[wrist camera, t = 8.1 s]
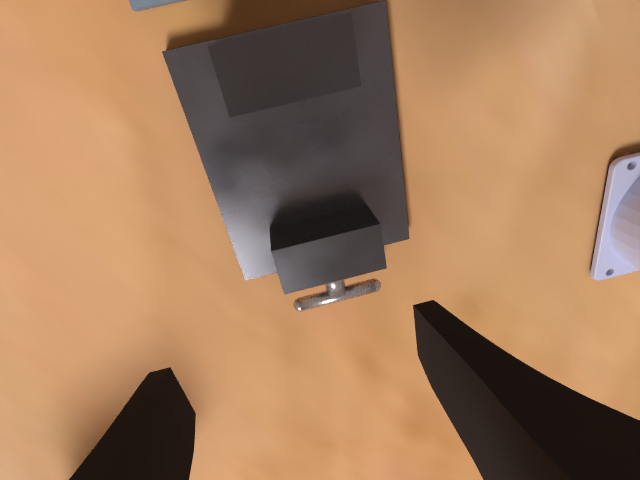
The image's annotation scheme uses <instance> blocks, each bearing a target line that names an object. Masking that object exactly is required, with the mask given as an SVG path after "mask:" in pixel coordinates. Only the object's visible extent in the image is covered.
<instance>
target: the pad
mask: <svg viewBox="0 0 640 480" xmlns="http://www.w3.org/2000/svg"><path fill="white" fill-rule="evenodd" d="M181 1H185V0H129V2H130V5H131V7H132V10H134V11H141V10H145V9H150V8H154V7H158V6H163V5H167V4H172V3H176V2H181Z"/></svg>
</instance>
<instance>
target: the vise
mask: <svg viewBox="0 0 640 480" xmlns="http://www.w3.org/2000/svg"><path fill="white" fill-rule="evenodd" d="M162 53H163V55H164V58H165V61H166V64H167V66H168V69H169V72H170V75H171V77H172V80H173V83H174V86H175V88H176V91H177V94H178V97H179V99H180V102H181V105H182V108H183V110H184V113H185V116H186V119H187V121H188V124H189V127H190V130H191V132H192V135H193V138H194V141H195V143H196V146H197V149H198V152H199V154H200V157H201V160H202V163H203V165H204V168H205V171H206V174H207V176H208V179H209V182H210V184H211V187H212V190H213V193H214V195H215V198H216V201H217V204H218V206H219V209H220V212H221V215H222V217H223V220H224V223H225V226H226V228H227V231H228V234H229V237H230V239H231V242H232V245H233V248H234V250H235V253H236V256H237V259H238V261H239V264H240V267H241V270H242V272H243V275H244V278H245V281H246V280H250V279H254V278H257V277H261V276H265V275H269V274H273V273H278V276H279V279H280V282H281V285H282V289H283V292H284V294H288V293H292V292H296V291H300V290H304V289H308V288H312V287H316V286H319V285H323V284H325V286H326V291H323V292H319V293H316V294H312V295H308V296H304V297H300V298H297V299H296V300H295V301H294V304H293V305H294V308H295V309H296V310H297V311H304V310H308V309H312V308H316V307H320V306H323V305H327V304H331V303H335V302H339V301H343V300H347V299H350V298H354V297H358V296H362V295H366V294H370V293H374V292H377V291H379V290H380V288H381V283H380V281H379V280H377V279H370V280H366V281H362V282H358V283H354V284H351V285H347V286H345V282H344V279H347V278H351V277H354V276H358V275H362V274H366V273H370V272H374V271H378V270H382V269H386V268H387V267H386V259H385V252H384V245H387V244H391V243H395V242H399V241H403V240H407V239H409V230H408V219H407V209H406V199H405V189H404V179H403V169H402V159H401V149H400V138H399V128H398V118H397V108H396V98H395V88H394V78H393V68H392V58H391V47H390V37H389V27H388V17H387V7H386V0H384V1H380V2H376V3H371V4H367V5H363V6H358V7H354V8H350V9H345V10H341V11H337V12H332V13H328V14H324V15H319V16H315V17H310V18H306V19H302V20H297V21H293V22H289V23H284V24H280V25H276V26H271V27H267V28H263V29H258V30H254V31H250V32H245V33H241V34H236V35H232V36H228V37H223V38H219V39H215V40H210V41H206V42H202V43H197V44H193V45H189V46H184V47H180V48H176V49H171V50H167V51H163V52H162Z"/></svg>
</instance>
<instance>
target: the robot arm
mask: <svg viewBox="0 0 640 480" xmlns="http://www.w3.org/2000/svg"><path fill="white" fill-rule="evenodd" d="M629 163H630V164H629ZM628 164H629V166H628ZM627 166H628V167H627ZM638 270H640V152H638V153H634V154H630V155H626V156H622V157H619V158H616V159H615V160H614V161H613V162H612V163H611V164H610V167H609V171H608V177H607V182H606V188H605V194H604V199H603V205H602V211H601V216H600V222H599V227H598V233H597V239H596V244H595V250H594V256H593V261H592V267H591V272H590V276H591V277H592V278H593V279H595V280H597V281H599V280H604V279H608V278H611V277H615V276H619V275H623V274H627V273H630V272H634V271H638ZM413 309H414V319H415V330H416V340H417V351H418V357H419V359H420V361H421V364H422V366H423V369H424V371H425V373H426V375H427V378H428V380H429V382H430V385H431V387H432V389H433V390H434V392H435V394H436V396H437V398H438V399H439V401H440V403H441V405H442V406H443V408H444V410H445V412H446V413H447V415H448V417H449V419H450V420H451V422H452V424H453V426H454V427H455V429H456V431H457V432H458V434H459V436H460V438H461V439H462V441H463V443H464V445H465V446H466V448H467V450H468V452H469V453H470V455H471V457H472V459H473V460H474V462H475V464H476V466H477V468H478V470H479V472H480V474H481V476H482V477H483V480H640V420H637V419H635V418H632V417H630V416H628V415H626V414H623V413H621V412H619V411H617V410H615V409H612V408H610V407H608V406H606V405H603V404H601V403H599V402H597V401H595V400H592V399H590V398H588V397H586V396H584V395H582V394H580V393H578V392H576V391H574V390H572V389H570V388H568V387H566V386H564V385H562V384H561V383H559V382H557V381H555V380H553V379H551V378H549V377H547V376H546V375H544V374H542V373H540V372H539V371H537V370H535V369H533V368H532V367H530V366H528V365H527V364H525V363H523V362H522V361H520V360H518V359H517V358H515V357H514V356H512V355H510V354H509V353H507V352H506V351H504V350H503V349H501V348H500V347H498V346H497V345H495V344H494V343H492V342H491V341H489V340H488V339H486V338H485V337H483V336H482V335H480V334H479V333H478V332H476V331H475V330H473V329H472V328H470V327H469V326H468V325H466V324H465V323H464V322H462V321H461V320H460V319H458V318H457V317H456V316H454V315H453V314H452V313H450V312H449V311H448V310H446V309H445V308H444V307H442V306H441V305H440V304H438V303H437V302H435V301H434V300H432V301H428V302H424V303H420V304H416V305H413ZM195 417H196V413H195V411H194V410H193V408H192V406H191V404H190V402H189V401H188V399H187V397H186V395H185V393H184V391H183V390H182V388H181V386H180V384H179V382H178V380H177V379H176V377H175V375H174V373H173V371H172V370H171V368H166V369H162V370H158V371H154V372H150V373H149V374H148V375H147V376H146V378H145V379H144V380H143V382H142V383H141V384H140V386H139V387H138V388H137V390H136V391H135V393H134V394H133V395H132V397H131V398H130V400H129V401H128V402H127V404H126V405H125V407H124V408H123V409H122V411H121V412H120V414H119V415H118V416H117V418H116V419H115V420H114V422H113V423H112V425H111V426H110V427H109V429H108V430H107V431H106V433H105V434H104V435H103V437H102V438H101V439H100V441H99V442H98V444H97V445H96V446H95V447H94V449H93V450H92V451H91V453H90V454H89V455H88V456H87V458H86V459H85V460H84V461H83V463H82V464H81V465H80V466H79V468H78V469H77V470H76V472H75V473H74V474H73V475H72V477H71V478H70V479H69V480H189V476H190V470H191V464H192V458H193V452H194V439H195Z"/></svg>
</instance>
